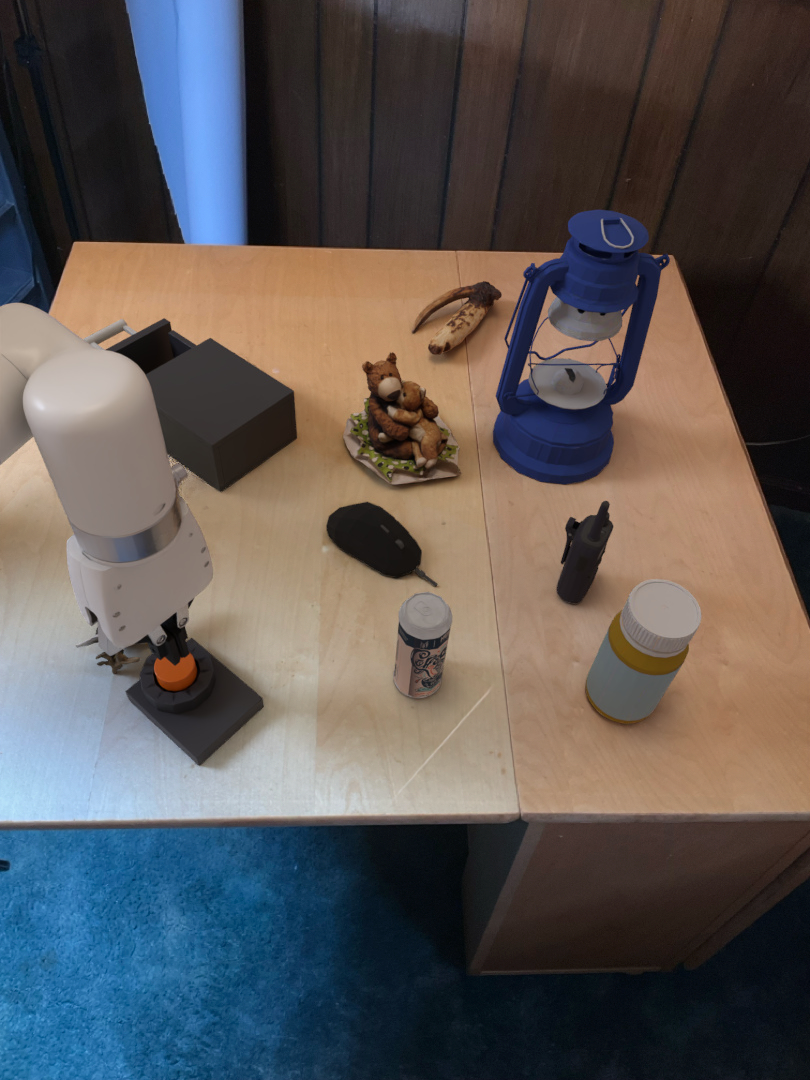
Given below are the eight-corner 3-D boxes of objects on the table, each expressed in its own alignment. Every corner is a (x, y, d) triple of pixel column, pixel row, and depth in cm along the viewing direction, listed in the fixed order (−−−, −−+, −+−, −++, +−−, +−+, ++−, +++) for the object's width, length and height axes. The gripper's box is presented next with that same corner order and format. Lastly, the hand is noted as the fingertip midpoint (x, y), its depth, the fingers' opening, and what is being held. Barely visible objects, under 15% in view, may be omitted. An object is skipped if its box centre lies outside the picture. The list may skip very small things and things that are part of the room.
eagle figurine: (170, 674, 77) (189, 589, 81) (112, 649, 72) (135, 559, 76) (115, 684, 80) (135, 602, 85) (56, 659, 75) (81, 573, 79)
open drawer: (72, 374, 104) (59, 337, 99) (143, 335, 110) (134, 298, 105) (170, 446, 97) (162, 409, 92) (241, 400, 103) (236, 364, 98)
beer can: (418, 710, 77) (428, 643, 68) (382, 679, 79) (387, 610, 70) (451, 678, 80) (464, 609, 70) (415, 649, 81) (424, 578, 72)
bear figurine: (375, 504, 94) (378, 426, 84) (329, 422, 102) (328, 343, 93) (479, 474, 98) (493, 396, 88) (427, 397, 106) (434, 319, 97)
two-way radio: (578, 612, 86) (614, 519, 74) (540, 594, 87) (569, 500, 75) (596, 576, 89) (633, 482, 77) (559, 559, 90) (590, 464, 78)
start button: (149, 675, 74) (145, 665, 73) (179, 650, 76) (176, 640, 75) (174, 698, 73) (171, 689, 72) (205, 672, 75) (202, 663, 74)
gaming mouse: (418, 604, 85) (421, 582, 82) (315, 533, 90) (314, 509, 87) (454, 569, 88) (458, 546, 85) (352, 502, 94) (352, 478, 91)
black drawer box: (139, 433, 99) (126, 385, 93) (217, 385, 106) (210, 337, 100) (220, 492, 94) (211, 445, 88) (297, 438, 100) (294, 390, 94)
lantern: (504, 491, 96) (553, 266, 73) (471, 407, 105) (506, 184, 82) (637, 475, 99) (725, 254, 76) (594, 395, 108) (661, 176, 85)
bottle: (612, 651, 83) (656, 561, 71) (668, 697, 80) (723, 611, 68) (569, 690, 79) (607, 603, 68) (625, 740, 76) (675, 658, 65)
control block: (126, 698, 76) (118, 680, 74) (192, 644, 80) (187, 625, 78) (199, 766, 72) (193, 749, 70) (264, 706, 77) (261, 688, 74)
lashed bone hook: (451, 290, 123) (392, 348, 113) (454, 261, 120) (393, 318, 109) (507, 308, 120) (451, 369, 110) (511, 279, 117) (454, 340, 106)
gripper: (174, 436, 63) (207, 578, 77) (1, 546, 55) (73, 681, 69) (241, 483, 60) (262, 622, 74) (68, 607, 52) (129, 735, 66)
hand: (171, 650), depth 71 cm, fingers closed
